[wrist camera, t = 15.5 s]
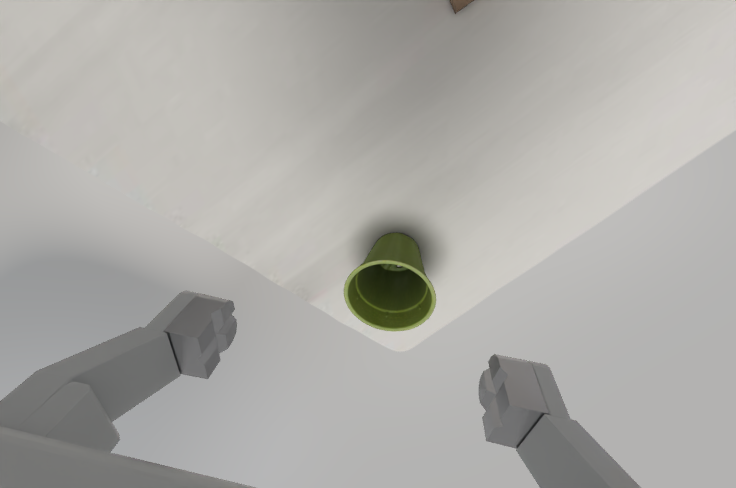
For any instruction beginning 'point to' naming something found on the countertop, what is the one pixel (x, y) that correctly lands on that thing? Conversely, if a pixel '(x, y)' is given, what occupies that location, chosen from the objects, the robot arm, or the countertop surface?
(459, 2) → the strip frame
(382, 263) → the plant pot
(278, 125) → the countertop surface
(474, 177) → the countertop surface
